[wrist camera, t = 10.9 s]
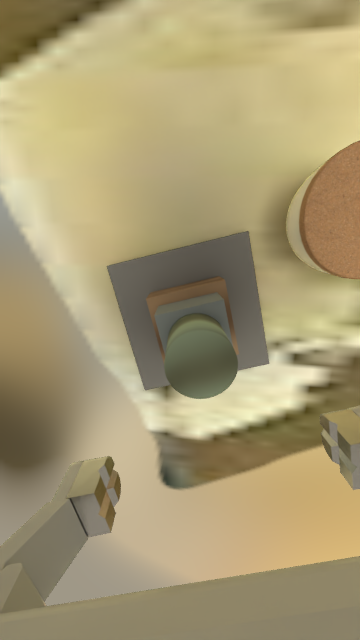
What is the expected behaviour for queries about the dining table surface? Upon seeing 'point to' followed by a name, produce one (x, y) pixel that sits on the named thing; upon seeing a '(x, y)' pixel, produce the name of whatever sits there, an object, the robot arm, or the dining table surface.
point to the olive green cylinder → (199, 357)
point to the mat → (182, 268)
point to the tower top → (201, 304)
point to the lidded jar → (329, 216)
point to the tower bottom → (186, 293)
